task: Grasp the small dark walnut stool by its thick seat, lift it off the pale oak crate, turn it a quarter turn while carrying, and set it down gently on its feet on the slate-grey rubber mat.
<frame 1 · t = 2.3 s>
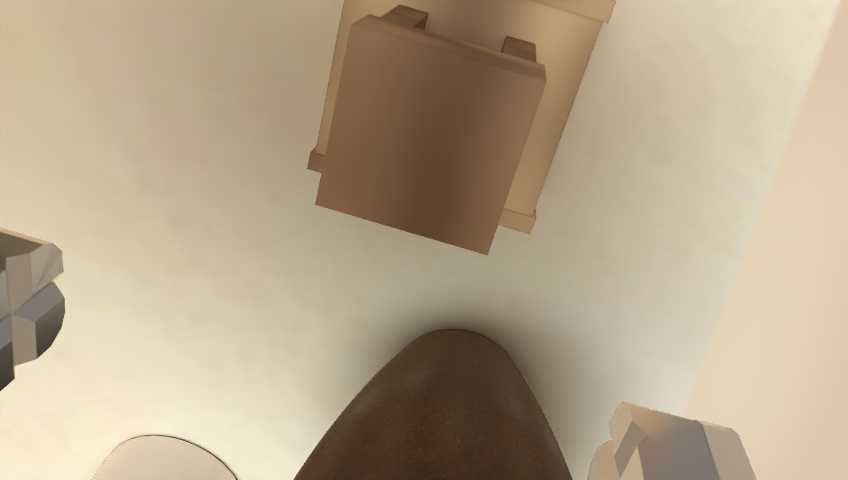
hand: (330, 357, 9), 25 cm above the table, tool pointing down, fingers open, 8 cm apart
crate: (459, 67, 32), on the table
plant pot: (458, 379, 40), on the table
stool: (448, 91, 28), point 5 cm above the table, touching crate
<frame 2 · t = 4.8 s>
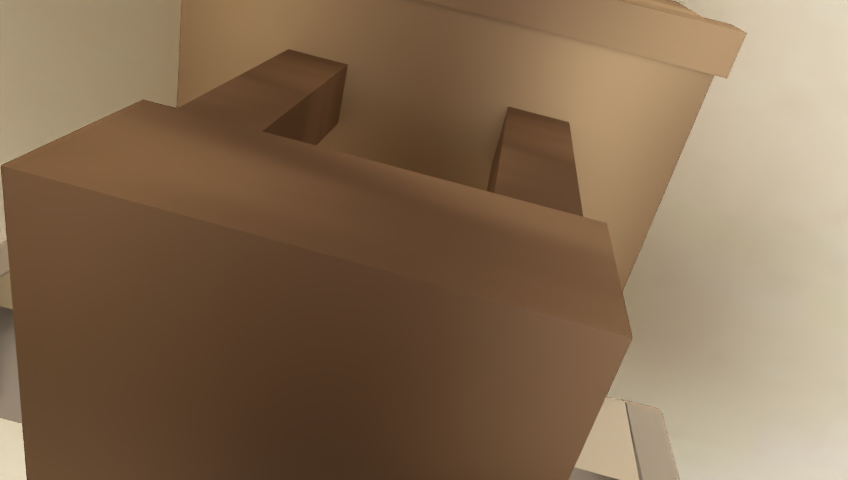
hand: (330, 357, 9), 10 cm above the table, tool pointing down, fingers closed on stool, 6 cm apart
crate: (432, 142, 19), on the table
stool: (398, 213, 14), point 5 cm above the table, touching crate, gripper
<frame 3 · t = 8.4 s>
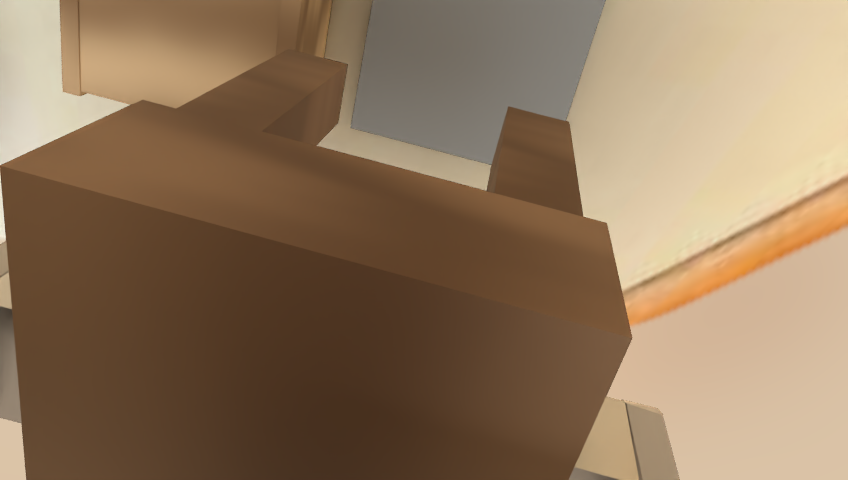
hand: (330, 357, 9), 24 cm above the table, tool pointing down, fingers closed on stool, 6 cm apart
mat: (474, 50, 31), on the table
stool: (398, 213, 14), point 19 cm above the table, touching gripper
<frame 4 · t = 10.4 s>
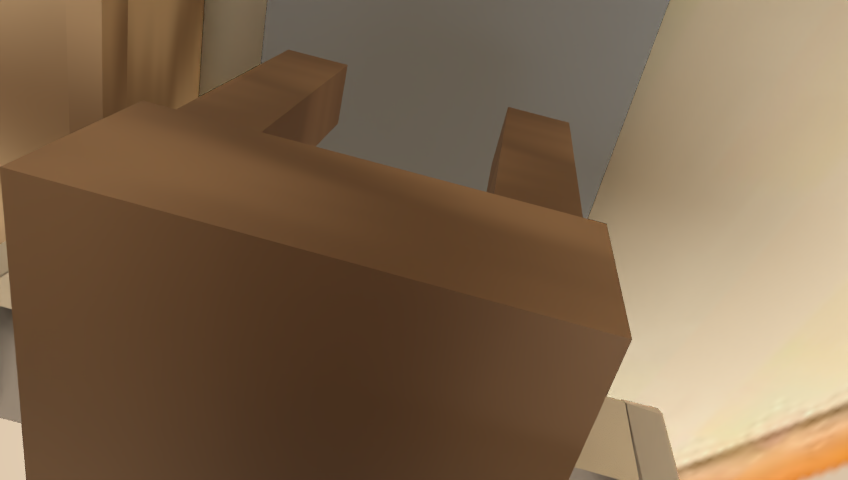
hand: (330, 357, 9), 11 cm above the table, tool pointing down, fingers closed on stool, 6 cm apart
crate: (38, 23, 20), on the table
mat: (431, 127, 19), on the table
stool: (398, 213, 14), point 6 cm above the table, touching gripper
when the fingers open (7 cm above the table, at t = 12.3 s): stool drops 1 cm, resting on mat.
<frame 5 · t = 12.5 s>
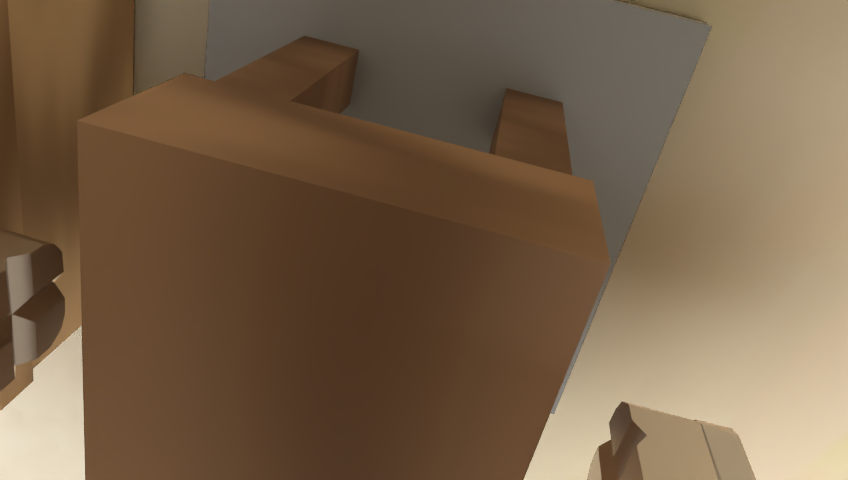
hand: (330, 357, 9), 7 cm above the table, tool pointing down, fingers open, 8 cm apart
mat: (412, 183, 16), on the table
stool: (405, 188, 15), point 1 cm above the table, touching mat
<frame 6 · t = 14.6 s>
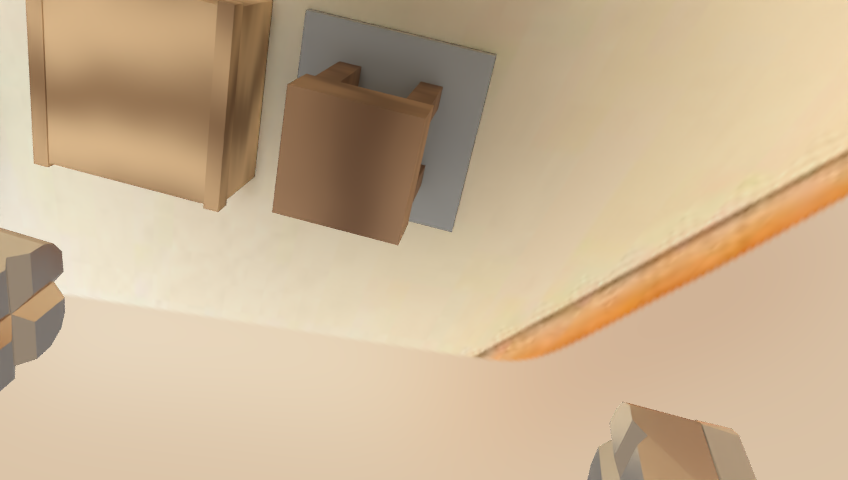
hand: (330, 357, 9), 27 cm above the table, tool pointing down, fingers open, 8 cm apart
crate: (177, 71, 37), on the table
mat: (384, 124, 36), on the table
stool: (381, 125, 36), point 1 cm above the table, touching mat
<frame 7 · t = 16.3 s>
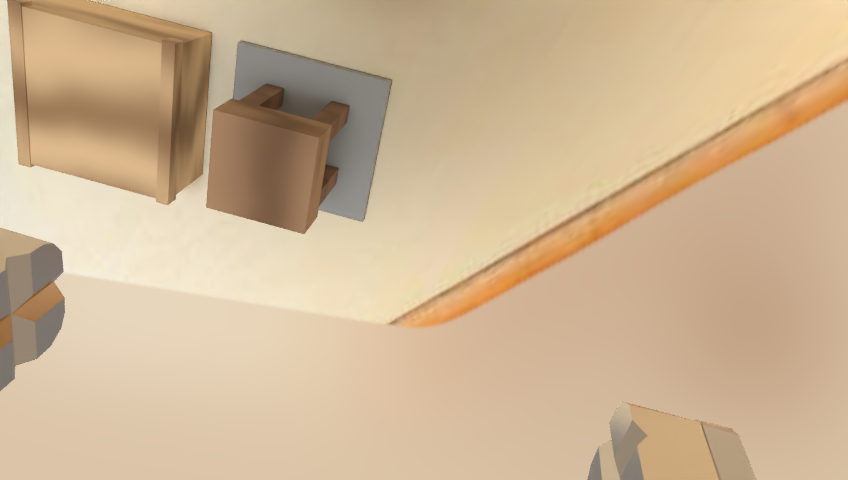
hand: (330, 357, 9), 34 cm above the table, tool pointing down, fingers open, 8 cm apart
crate: (136, 88, 45), on the table
mat: (306, 133, 45), on the table
stool: (302, 134, 44), point 1 cm above the table, touching mat
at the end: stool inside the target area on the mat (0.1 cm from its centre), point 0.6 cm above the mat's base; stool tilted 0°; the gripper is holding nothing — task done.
